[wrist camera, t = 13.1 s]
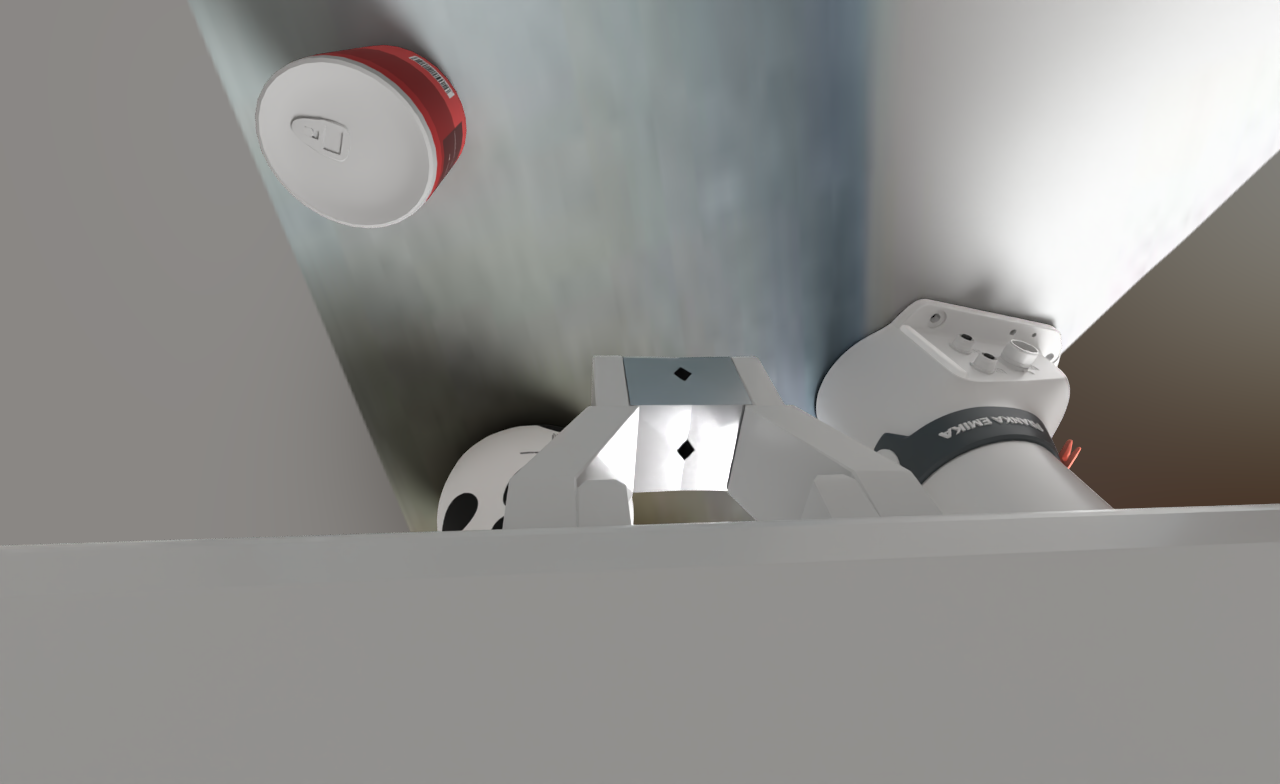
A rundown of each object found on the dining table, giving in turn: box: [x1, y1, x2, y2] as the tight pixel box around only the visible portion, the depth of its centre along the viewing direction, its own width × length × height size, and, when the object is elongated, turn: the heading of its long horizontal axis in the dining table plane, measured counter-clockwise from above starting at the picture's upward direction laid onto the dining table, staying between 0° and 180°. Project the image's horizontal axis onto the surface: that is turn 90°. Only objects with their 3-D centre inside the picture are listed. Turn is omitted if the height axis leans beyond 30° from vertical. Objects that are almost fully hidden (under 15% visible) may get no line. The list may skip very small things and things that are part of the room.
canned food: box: [255, 45, 466, 228], centre depth 31 cm, size 8×8×11 cm
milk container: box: [437, 424, 633, 531], centre depth 47 cm, size 17×17×18 cm
